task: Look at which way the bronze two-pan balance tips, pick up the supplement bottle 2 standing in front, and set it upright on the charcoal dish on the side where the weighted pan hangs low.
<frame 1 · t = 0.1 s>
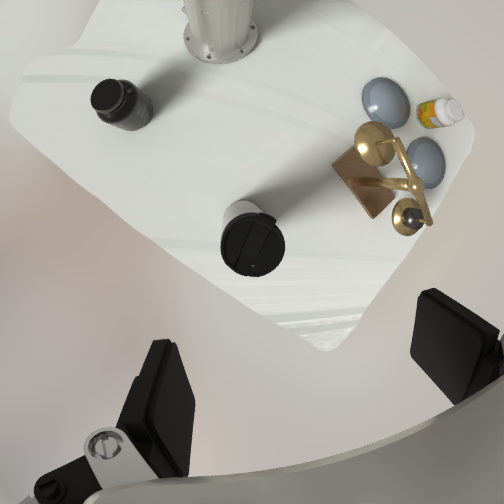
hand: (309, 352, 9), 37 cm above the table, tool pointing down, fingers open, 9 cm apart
supplement bottle 2: (424, 116, 43), on the table
travel mug: (243, 218, 46), on the table
dish low side: (424, 163, 45), on the table
supplement bottle: (134, 112, 40), on the table
dish high side: (385, 103, 42), on the table
balance: (363, 181, 45), on the table
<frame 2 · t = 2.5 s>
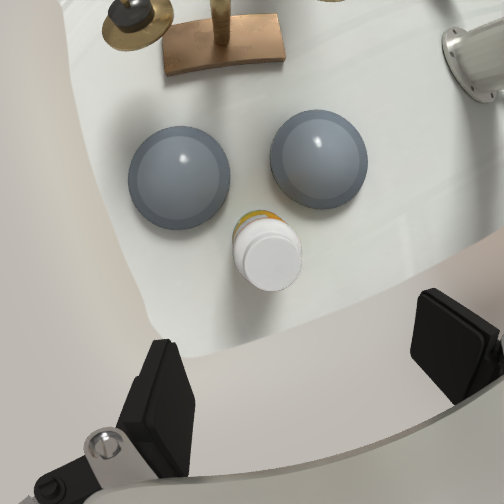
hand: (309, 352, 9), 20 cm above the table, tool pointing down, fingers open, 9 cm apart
supplement bottle 2: (259, 235, 29), on the table
dish low side: (179, 177, 26), on the table
dish high side: (318, 159, 27), on the table
balance: (222, 43, 23), on the table
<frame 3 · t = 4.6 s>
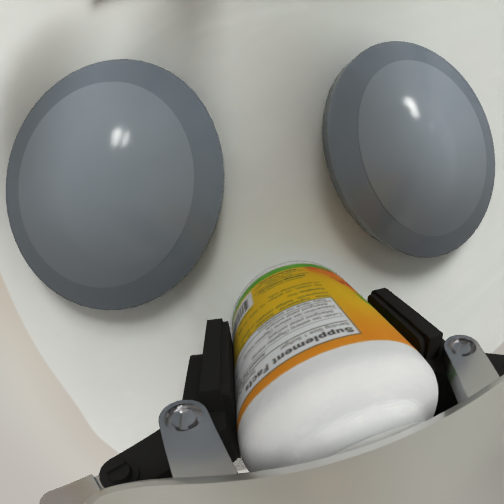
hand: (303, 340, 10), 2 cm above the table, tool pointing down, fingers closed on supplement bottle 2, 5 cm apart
supplement bottle 2: (292, 314, 12), on the table, touching gripper
dish low side: (103, 183, 10), on the table
dish high side: (419, 146, 11), on the table
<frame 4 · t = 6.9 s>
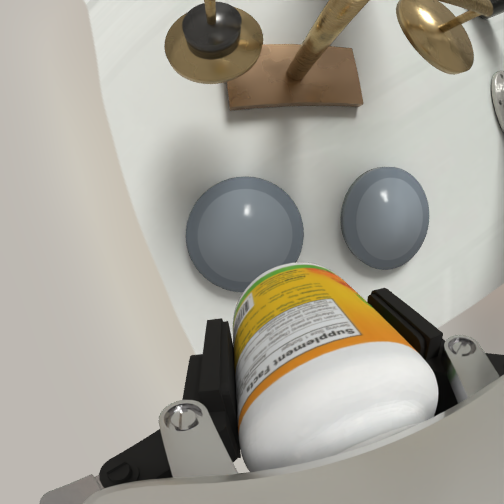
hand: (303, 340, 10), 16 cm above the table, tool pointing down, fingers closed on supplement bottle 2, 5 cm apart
supplement bottle 2: (292, 315, 12), point 13 cm above the table, touching gripper
dish low side: (244, 234, 25), on the table
supplement bottle: (472, 3, 18), on the table
dish high side: (385, 217, 25), on the table
balance: (293, 76, 21), on the table
when the fingers open (4 cm above the table, at t = 9.5 s): supplement bottle 2 stays where it is, resting on dish low side.
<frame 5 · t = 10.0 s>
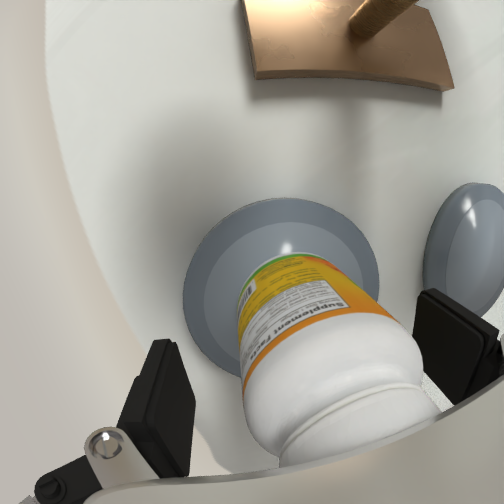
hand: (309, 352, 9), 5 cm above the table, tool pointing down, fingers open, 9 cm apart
supplement bottle 2: (291, 302, 14), point 1 cm above the table, touching dish low side
dish low side: (283, 295, 15), on the table
dish high side: (471, 253, 15), on the table
balance: (354, 34, 11), on the table
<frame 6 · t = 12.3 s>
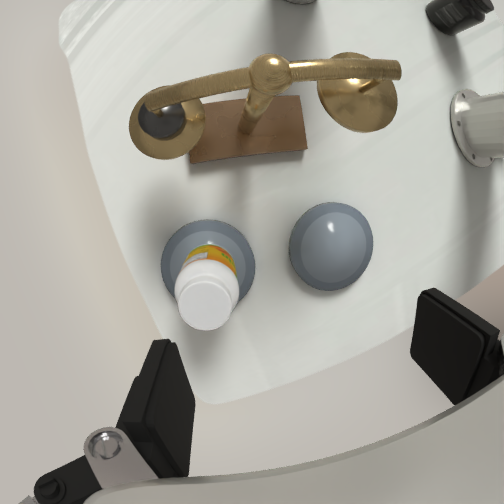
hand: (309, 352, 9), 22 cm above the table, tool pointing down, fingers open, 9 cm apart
supplement bottle 2: (209, 267, 29), point 1 cm above the table, touching dish low side
dish low side: (208, 265, 30), on the table
supplement bottle: (439, 20, 25), on the table
dish high side: (331, 245, 31), on the table
balance: (245, 128, 27), on the table
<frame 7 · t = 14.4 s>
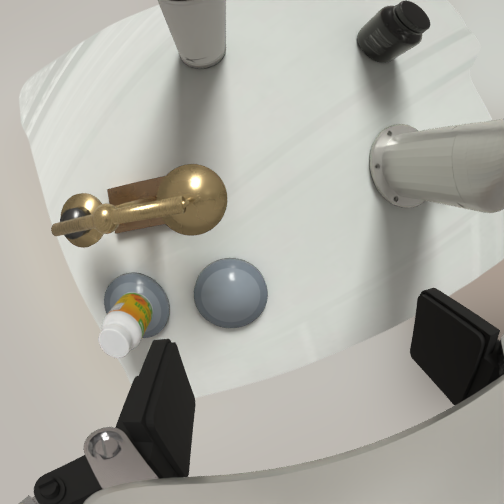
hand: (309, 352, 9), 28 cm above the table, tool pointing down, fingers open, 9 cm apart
supplement bottle 2: (136, 307, 37), point 1 cm above the table, touching dish low side
travel mug: (203, 51, 30), on the table
dish low side: (137, 304, 38), on the table
supplement bottle: (374, 45, 31), on the table
dish high side: (230, 292, 39), on the table
balance: (154, 201, 35), on the table
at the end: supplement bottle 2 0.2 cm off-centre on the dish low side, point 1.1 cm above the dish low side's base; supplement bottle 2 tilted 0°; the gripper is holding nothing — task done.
